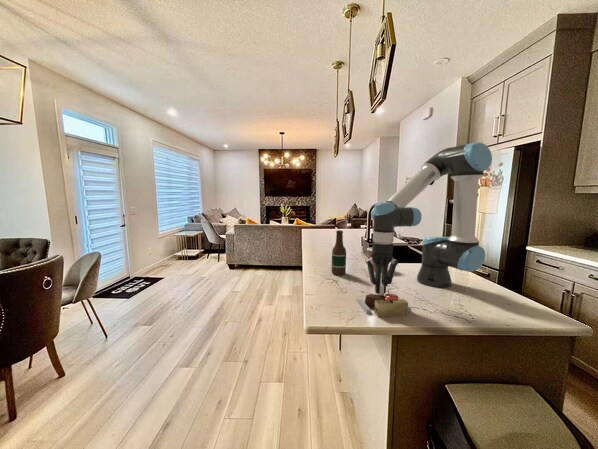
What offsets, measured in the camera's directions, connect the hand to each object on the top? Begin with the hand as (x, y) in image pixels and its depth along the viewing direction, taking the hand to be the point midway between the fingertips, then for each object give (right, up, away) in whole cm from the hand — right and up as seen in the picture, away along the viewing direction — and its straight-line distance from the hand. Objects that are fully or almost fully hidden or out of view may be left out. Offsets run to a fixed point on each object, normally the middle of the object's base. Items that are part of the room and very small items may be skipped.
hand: (380, 300), depth 99 cm
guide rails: (0, -2, -3) cm, 3 cm away
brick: (-1, -2, -3) cm, 4 cm away
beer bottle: (-10, +3, +39) cm, 41 cm away
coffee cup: (+13, +4, +49) cm, 51 cm away
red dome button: (+1, -2, -9) cm, 9 cm away
